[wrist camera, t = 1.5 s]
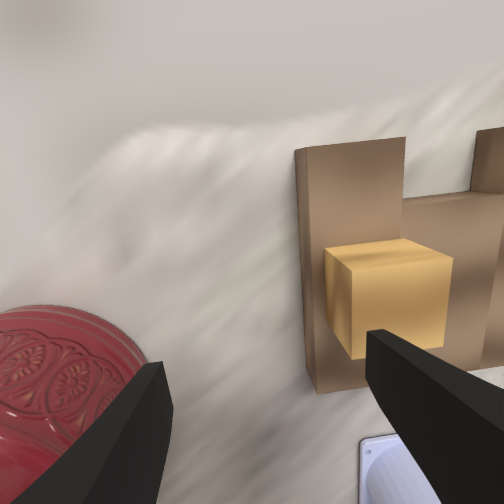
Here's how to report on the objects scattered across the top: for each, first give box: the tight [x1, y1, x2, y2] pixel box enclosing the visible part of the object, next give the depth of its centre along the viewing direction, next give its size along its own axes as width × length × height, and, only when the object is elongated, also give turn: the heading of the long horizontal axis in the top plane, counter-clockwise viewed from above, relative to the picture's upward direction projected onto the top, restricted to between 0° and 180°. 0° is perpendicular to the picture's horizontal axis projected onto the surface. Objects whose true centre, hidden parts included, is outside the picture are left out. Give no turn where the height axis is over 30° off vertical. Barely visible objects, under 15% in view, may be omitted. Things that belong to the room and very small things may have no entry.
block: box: [325, 238, 453, 360], centre depth 14 cm, size 4×4×4 cm
